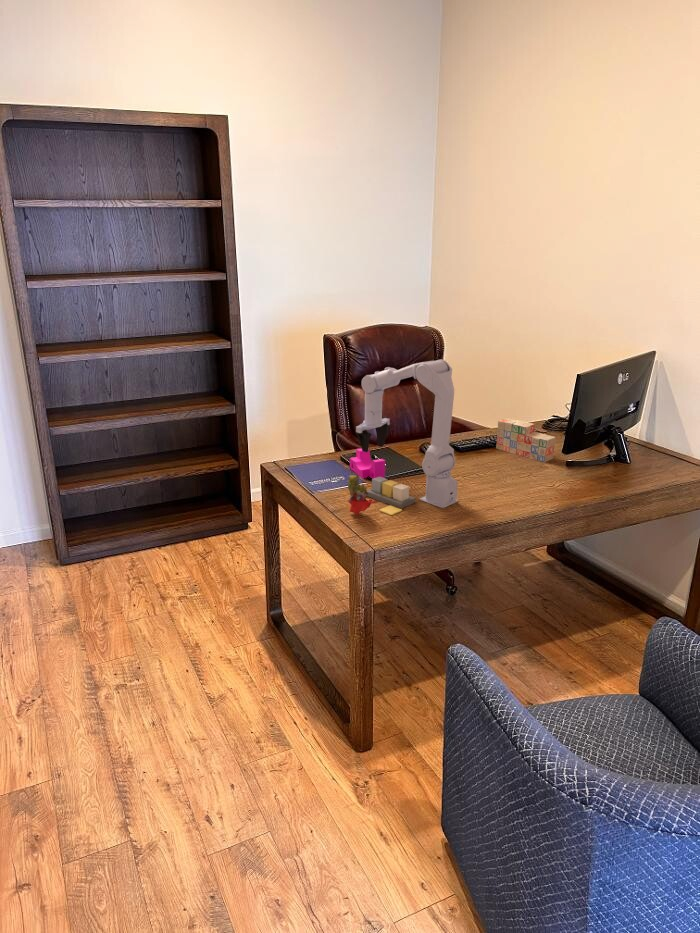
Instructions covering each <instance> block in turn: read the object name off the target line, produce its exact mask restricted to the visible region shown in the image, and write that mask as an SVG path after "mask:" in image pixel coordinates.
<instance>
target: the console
mask: <svg viewBox="0 0 700 933" xmlns="http://www.w3.org/2000/svg"><path fill="white" fill-rule="evenodd" d="M366 490H367V492H368V495H367V497H368V498H370V499H372V500H375V501H378V502H382V503H384V504H387V505H388V506H389V505H391V506H393V507H396V508H399V509H401V510H402V509H403V508H406V507H408V506H410V505H412V504H414V503H415V504H416V497H414V496H411V495H409V499H406V500H404V501H402V502H401V501H398V500H396V499H393V497H391V498H390V497H388V496H385V495H382V493H381V494H379V493H377V492H374V491H372V488H369V489H366Z"/></svg>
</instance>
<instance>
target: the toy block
mask: <svg viewBox="0 0 700 933" xmlns="http://www.w3.org/2000/svg"><path fill="white" fill-rule="evenodd" d="M355 454H356V457H355V456H354V457H349V469H350V470H351V471H353V472H354V473H355V474H356V476H358V477H360V478H361V479H366V478H367V477H368V476H370V477H371V478H372V479H374V478H377V477H379V476H380V477H383V478H385V479H386V460H385V459H384V458H378V459H373V460H372V459H371V455H370V449H368V452H364V451H362V448H361V447H360V448H356V452H355ZM368 478H369V477H368ZM372 479H371V480H372Z"/></svg>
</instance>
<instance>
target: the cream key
mask: <svg viewBox="0 0 700 933" xmlns="http://www.w3.org/2000/svg"><path fill="white" fill-rule="evenodd" d="M409 496H410V486H409V485H406V484H404V483H403V484H402V483H398V485H396V486H393V499H396V500H398V501H401V502H402V501H404V500H406V499H409Z"/></svg>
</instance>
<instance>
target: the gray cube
mask: <svg viewBox="0 0 700 933" xmlns="http://www.w3.org/2000/svg"><path fill="white" fill-rule="evenodd" d="M386 481H389V480H388V478H386V477H385V478H383V477H380V476H379V477H377V478H374V479H371V489H372V491H374V492H377V493H379V494H381V493H382V483H383V482H386Z"/></svg>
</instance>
